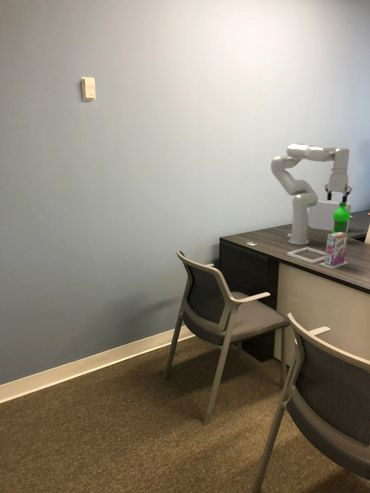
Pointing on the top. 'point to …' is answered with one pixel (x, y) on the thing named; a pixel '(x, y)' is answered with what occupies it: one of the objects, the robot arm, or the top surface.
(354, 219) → the top surface
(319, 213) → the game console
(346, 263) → the rubber mat
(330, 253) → the candy bar box
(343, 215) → the plastic bottle
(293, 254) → the grey square frame
